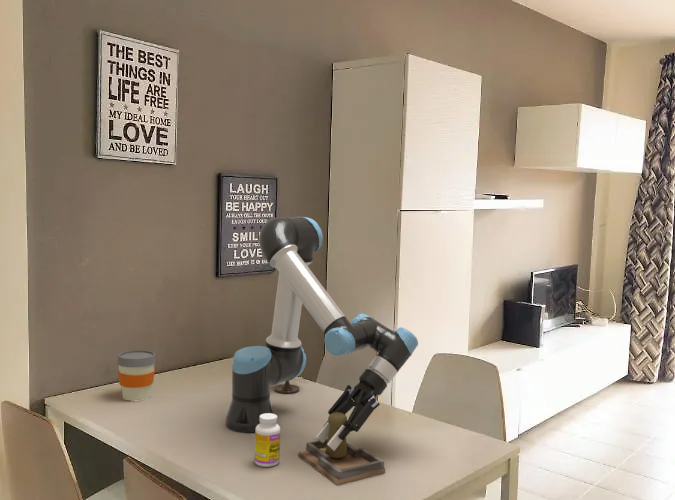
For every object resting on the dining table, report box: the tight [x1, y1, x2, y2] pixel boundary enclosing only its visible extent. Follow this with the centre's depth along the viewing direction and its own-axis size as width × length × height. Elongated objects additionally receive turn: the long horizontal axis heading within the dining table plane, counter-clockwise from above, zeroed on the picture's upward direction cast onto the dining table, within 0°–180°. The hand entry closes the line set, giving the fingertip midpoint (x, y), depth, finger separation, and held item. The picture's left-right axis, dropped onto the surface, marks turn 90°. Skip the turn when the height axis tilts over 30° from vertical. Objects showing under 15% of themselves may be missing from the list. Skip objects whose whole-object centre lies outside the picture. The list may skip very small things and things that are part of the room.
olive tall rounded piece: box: [325, 412, 348, 458], centre depth 175 cm, size 6×6×11 cm
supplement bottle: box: [254, 413, 281, 468], centre depth 172 cm, size 7×7×13 cm
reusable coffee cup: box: [116, 349, 157, 402], centre depth 222 cm, size 12×13×15 cm
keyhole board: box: [297, 438, 386, 486], centre depth 173 cm, size 20×15×3 cm
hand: (325, 443), depth 173 cm, fingers closed on olive tall rounded piece, 5 cm apart
